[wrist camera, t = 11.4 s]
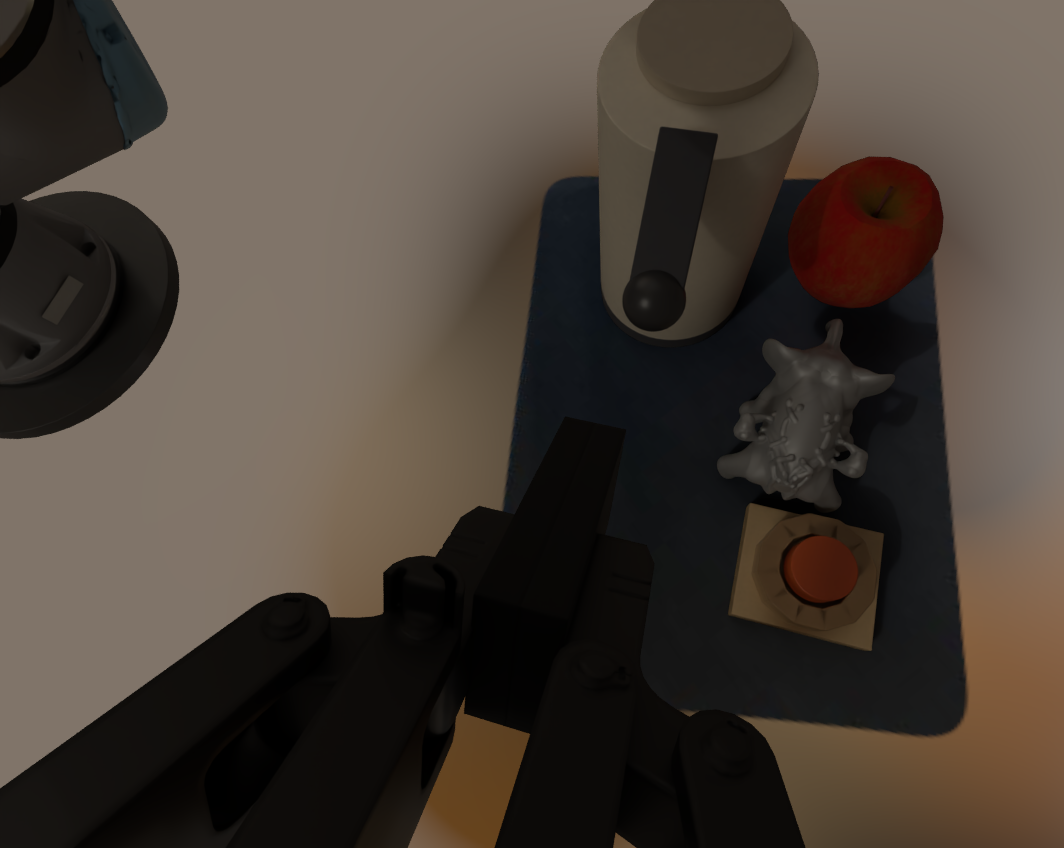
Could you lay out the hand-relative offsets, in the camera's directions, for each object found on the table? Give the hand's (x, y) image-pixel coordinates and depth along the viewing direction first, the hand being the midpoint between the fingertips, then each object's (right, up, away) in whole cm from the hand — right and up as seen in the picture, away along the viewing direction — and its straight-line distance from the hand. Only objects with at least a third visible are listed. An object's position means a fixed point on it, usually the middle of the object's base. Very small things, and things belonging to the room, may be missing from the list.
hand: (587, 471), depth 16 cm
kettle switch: (+5, +10, +13) cm, 17 cm away
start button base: (+15, -8, +24) cm, 30 cm away
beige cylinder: (+9, +11, +32) cm, 35 cm away
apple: (+20, +11, +31) cm, 38 cm away
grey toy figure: (+16, +1, +28) cm, 32 cm away
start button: (+15, -7, +22) cm, 28 cm away
